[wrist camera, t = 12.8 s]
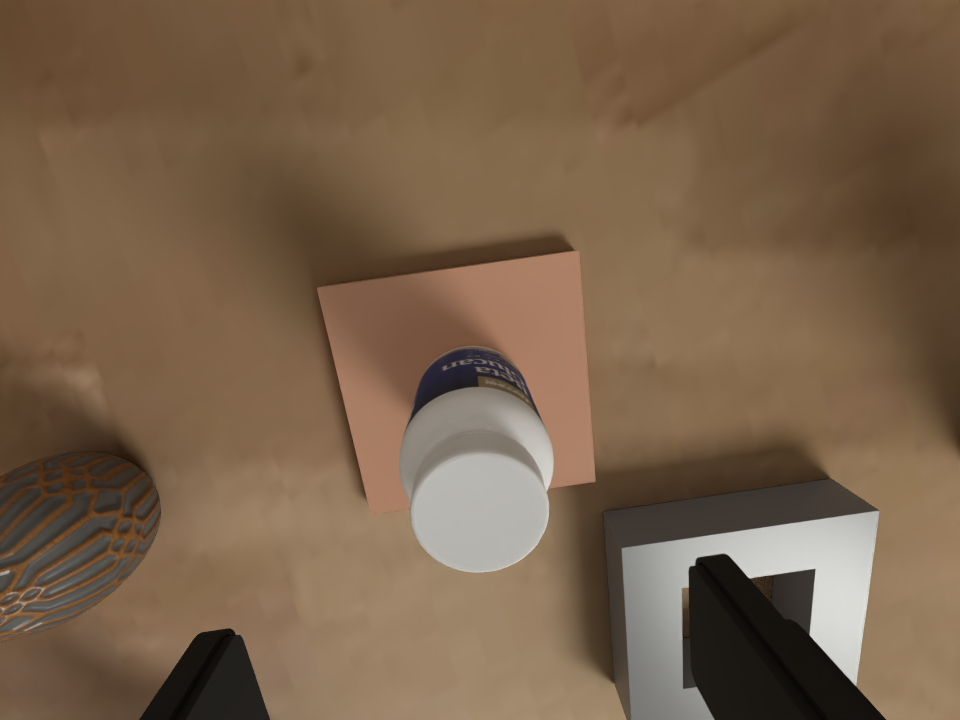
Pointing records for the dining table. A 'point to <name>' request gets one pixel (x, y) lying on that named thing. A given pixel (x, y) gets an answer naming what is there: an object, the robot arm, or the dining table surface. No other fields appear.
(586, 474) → the terracotta tile
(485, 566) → the pill bottle
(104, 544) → the vase
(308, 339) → the dining table surface
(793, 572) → the bottle holder
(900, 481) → the dining table surface
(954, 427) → the dining table surface
